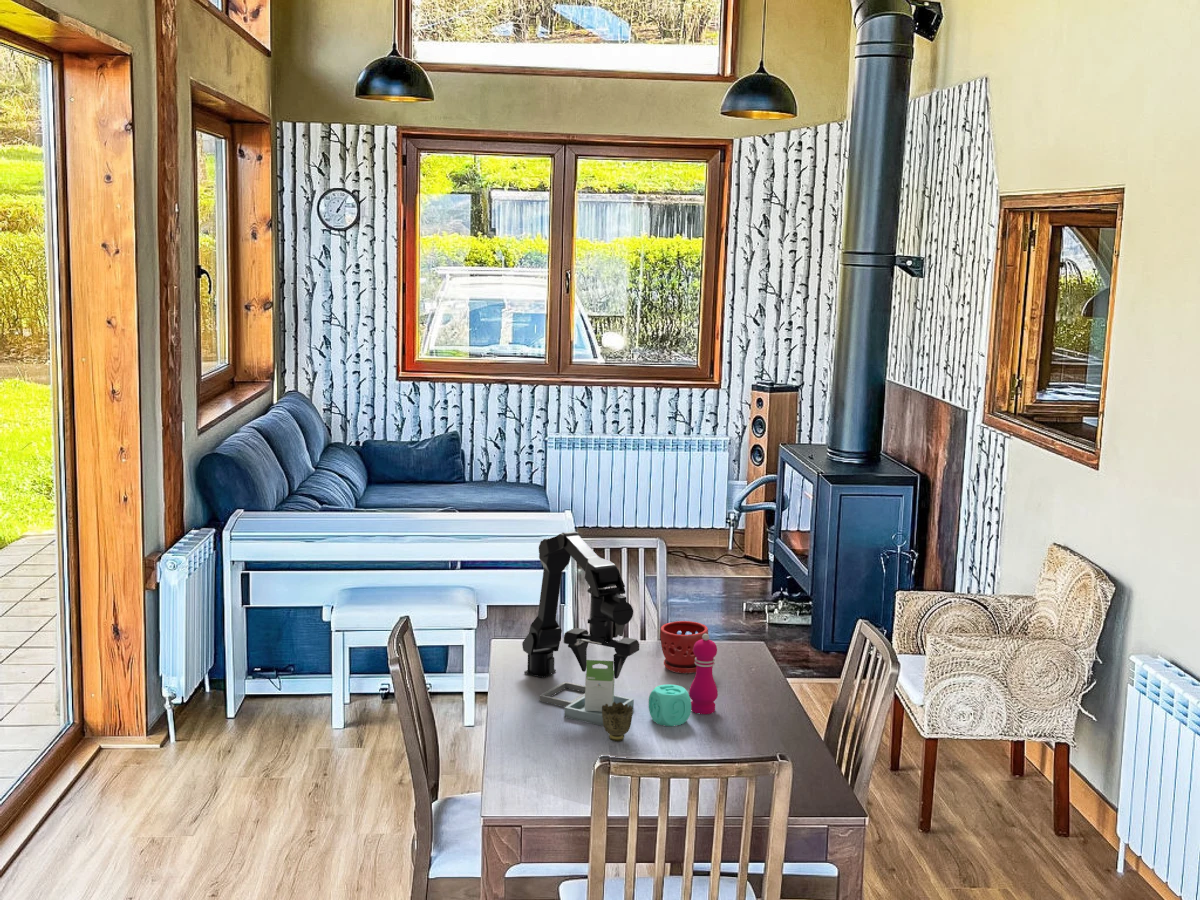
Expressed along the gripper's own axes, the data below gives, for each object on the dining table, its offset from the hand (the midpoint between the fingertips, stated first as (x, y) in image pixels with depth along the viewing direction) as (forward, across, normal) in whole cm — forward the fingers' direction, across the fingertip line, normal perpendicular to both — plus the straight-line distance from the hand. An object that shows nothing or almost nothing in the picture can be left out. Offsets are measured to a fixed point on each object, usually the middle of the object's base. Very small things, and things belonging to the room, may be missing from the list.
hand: (600, 674), depth 317 cm
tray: (+10, 0, 0) cm, 10 cm away
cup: (+10, -12, +13) cm, 20 cm away
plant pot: (+10, -3, -42) cm, 43 cm away
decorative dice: (+10, -17, -5) cm, 20 cm away
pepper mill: (+10, -21, -16) cm, 28 cm away
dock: (+10, +12, -5) cm, 16 cm away
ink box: (+9, 0, 0) cm, 9 cm away
